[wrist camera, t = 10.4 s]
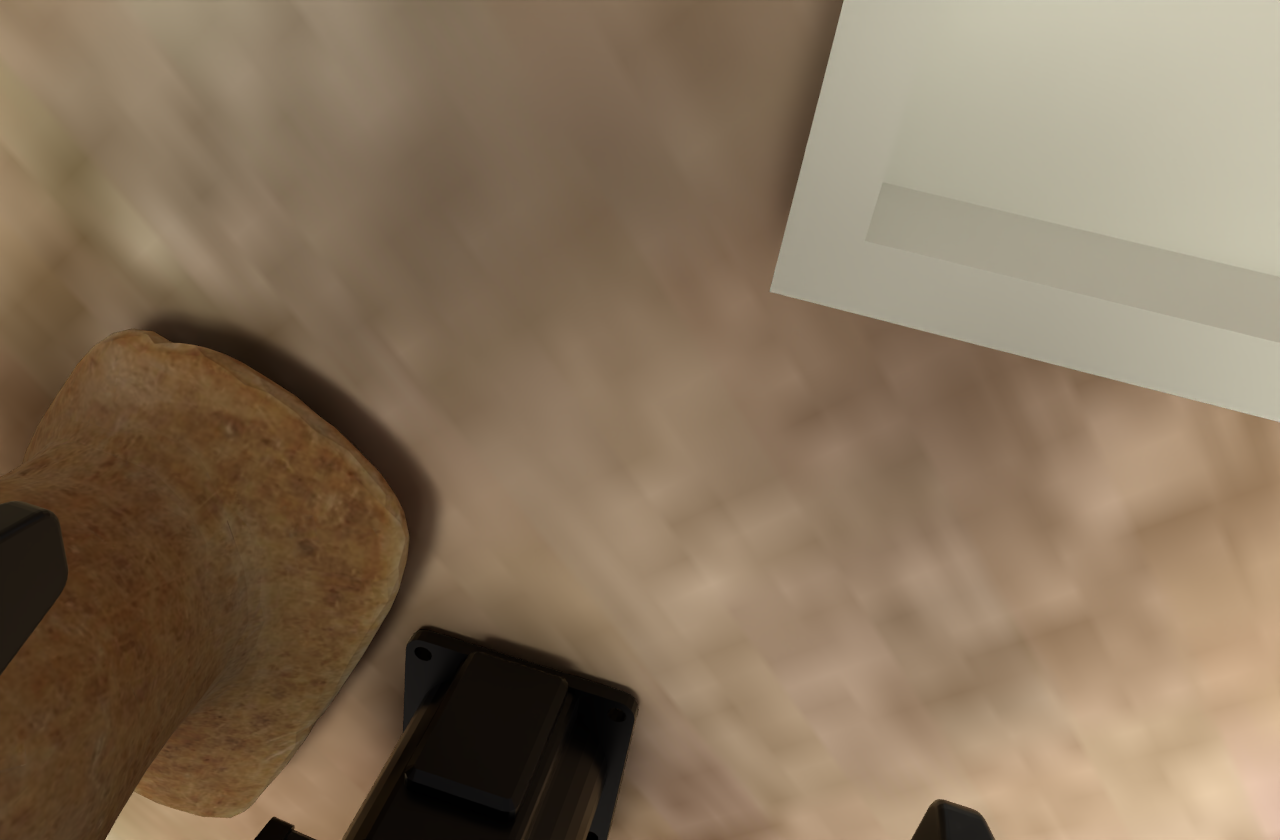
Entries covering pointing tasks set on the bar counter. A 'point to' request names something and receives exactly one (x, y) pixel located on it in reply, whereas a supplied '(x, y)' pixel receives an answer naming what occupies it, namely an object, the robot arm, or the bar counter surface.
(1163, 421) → the bar counter surface
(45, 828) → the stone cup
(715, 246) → the bar counter surface
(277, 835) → the robot arm
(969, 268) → the tray
